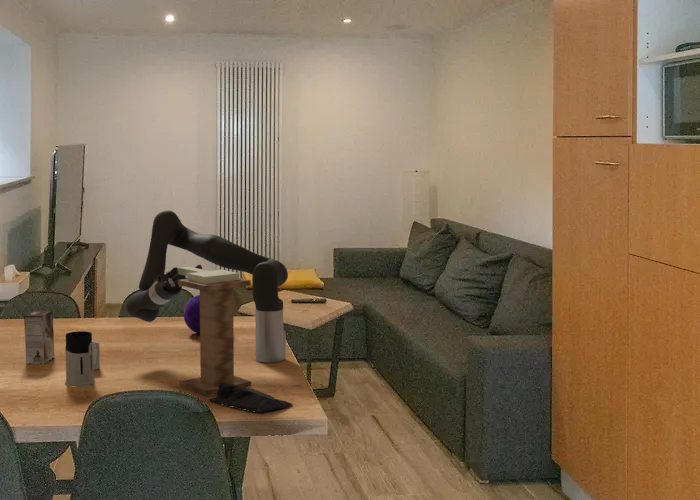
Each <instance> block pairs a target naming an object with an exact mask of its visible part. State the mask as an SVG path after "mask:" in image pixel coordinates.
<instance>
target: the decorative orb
mask: <svg viewBox="0 0 700 500" xmlns="http://www.w3.org/2000/svg"><path fill="white" fill-rule="evenodd" d="M183 318H184V323H185V325H186V326H187V327H188V329H189V330H191V331H192V332H194V333H196V334H199V335H200V294H198V295H195V296H193V297H191V298H190V299H189V300H188V301H187V303H186V304H185V307H184V309H183Z"/></svg>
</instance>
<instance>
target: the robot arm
mask: <svg viewBox="0 0 700 500" xmlns="http://www.w3.org/2000/svg"><path fill="white" fill-rule="evenodd" d="M168 246H173V247H176V248H178V249H182V250H184V251H188V252H190V253H191V254H194V255H195V256H197V257H199V258H202V259H203V260H206V261H207V262H209V263H212V264H214V265H216V266H219V267H220V268H225V269H227V270H228V269H229V270H234V271H238V272H245V273H248V274H250V275H252V278H251V279H252V280H251V283H252V285H251V286H252V299H253V302H254V305H255V361H256V362H258V363H259V362H260V363H271V364H272V363H278V362H282V361H283V360H287V359H286V358H287V356H286V354H287V351H286V349H287V347H286V346H287V345H286V342H287V341H286V340H287V337H286V336H287V335H286V334H287V333H286V331H285V330H284V301H283V299H281V298H280V297H279V287H280V286H282V285H284V284H285V283H286V282H287V280H288V278H289V273H288V268H287V267H286V266H285V264H283V263H282V262H281V261H279V260H277V259H274V258H271V257H267V256H264V255H260V254H258V253H255V252H253V251H251V250H249V249H247V248H245V247H243V246H241V245H238V244H237V243H234V242H232V241H230V240H229V239H226V238H224V237H222V236H219V235H216V234H212V233H211V234H209V233H206V234H203V233H202V234H201V233H199V232H196V231H194V230H192V229H190V228H188V227H186V226H185V225H184V224H183V223H182V221H181V219H180V218H179V216H178V215H177V214H176V213H175V212H174V211H173V210H170V209H165V210H162V211H160V212H159V213H157V214H156V215H155V217H154V218H153V222H152V228H151V234H150V243H149V246H148V248H149V249H148V252H147V257H146V261H145V264H144V268H143V271H142V274H141V277H140V281H139V282H138V283H139V284H138V289H139V291H140V292H136V293H135V294H134V295H132V296H131V297H129V298H128V300H127V302H126V305H125V310H126V313H128V314H129V315H130V316H132V317H134V318H137V319H139V320H142V321H144V322H147V323H152V322H153V321H155V320H156V319H157V317H158V314H159V312H160V309H161V307H163V306H164V305H166V304H167V303H169V302H170V301H171V300H173V299H174V298H175V297H176V296H177V295H179V294H180V293H181V291H182V290H183V286H180V285H178V280H182V279H188V277H187V276H185V275H180V274H178V269H177V267H178V266H174V267H173V268H172V269H170V270H169V271H166V263H167V262H166V261H167V250H168ZM194 268H197V269H203V267H202V265H201V264H197V265H196V266H195V267H194Z"/></svg>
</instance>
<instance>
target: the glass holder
mask: <svg viewBox="0 0 700 500" xmlns="http://www.w3.org/2000/svg"><path fill="white" fill-rule="evenodd" d="M92 341H93V333H92V332H90V331H85V330H84V331H83V330H81V331H80V330H79V331H77V330H76V331H72V332H71V331H70V332H68V333H66V334H65V349H64V350H65V375H66V376H65V379H66V380H65V383H64V385H65V386H66V385H68V386H67V387H70V386H83V387H89V386H92V385H94V384H95V383H96V380H95V378H94V377H95V376H94V371H95V370H96V369H95V368H96V367H97V365H98V361H99V353H100V345H99V346H98V344H97V343H96V342H97V341H96V342H92ZM93 343H94V344H95V345H96V347H97V360H96V363H95V366H94V368H93V349H92V344H93ZM91 384H92V385H91ZM88 385H89V386H88Z"/></svg>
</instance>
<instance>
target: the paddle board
mask: <svg viewBox="0 0 700 500" xmlns="http://www.w3.org/2000/svg"><path fill="white" fill-rule="evenodd" d="M176 267H177V269H178V274H180V275H185V276H186V277H187V278H188V280H189V281H194V282H198V283H203V284H208V283H217V282H225V281H233V280H239V278H240V273H239V272H235V271H230V270H226V269H216V270H214V269H213V270H206V269H204V268H202V269H197V268H195V267H191V266H176Z"/></svg>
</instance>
